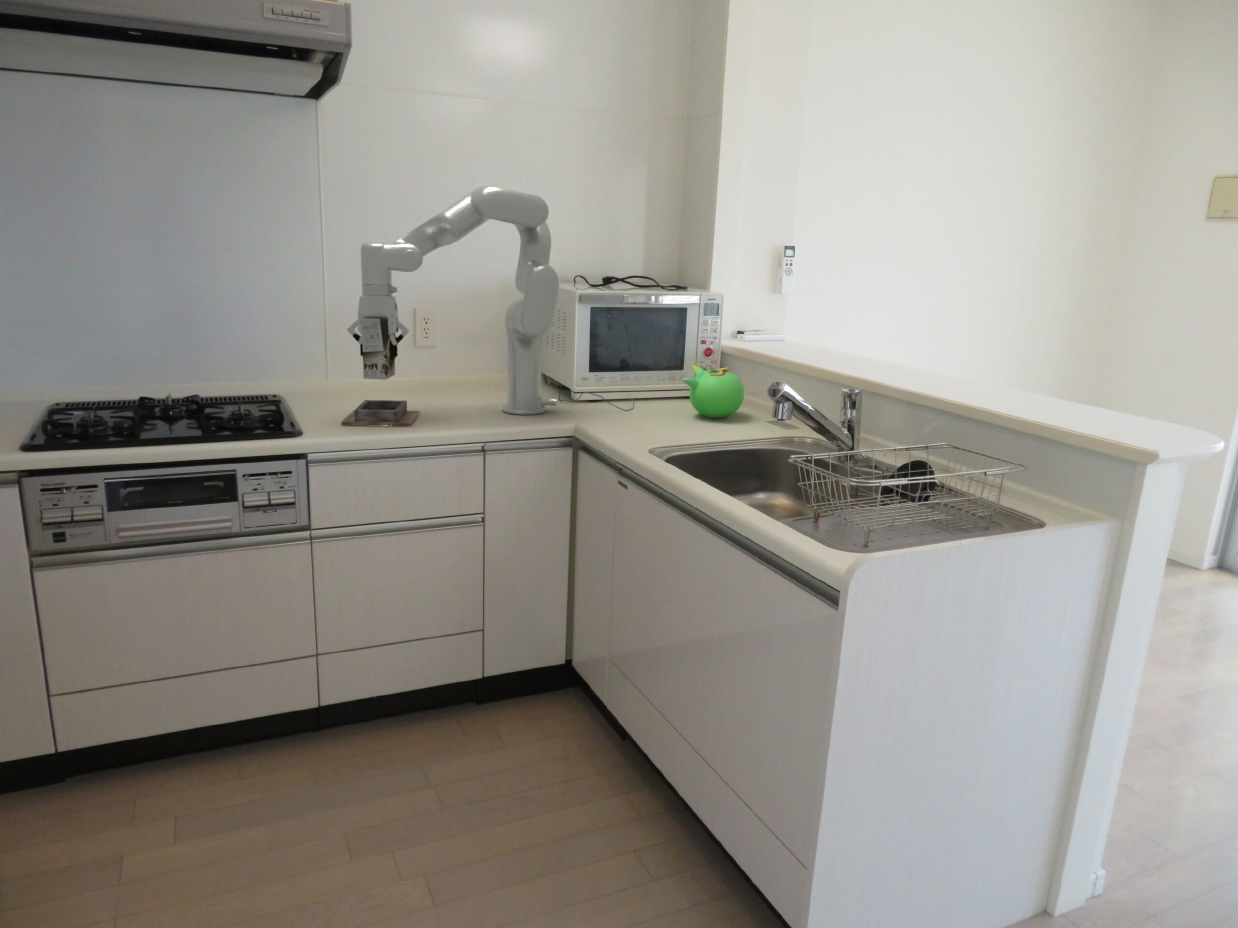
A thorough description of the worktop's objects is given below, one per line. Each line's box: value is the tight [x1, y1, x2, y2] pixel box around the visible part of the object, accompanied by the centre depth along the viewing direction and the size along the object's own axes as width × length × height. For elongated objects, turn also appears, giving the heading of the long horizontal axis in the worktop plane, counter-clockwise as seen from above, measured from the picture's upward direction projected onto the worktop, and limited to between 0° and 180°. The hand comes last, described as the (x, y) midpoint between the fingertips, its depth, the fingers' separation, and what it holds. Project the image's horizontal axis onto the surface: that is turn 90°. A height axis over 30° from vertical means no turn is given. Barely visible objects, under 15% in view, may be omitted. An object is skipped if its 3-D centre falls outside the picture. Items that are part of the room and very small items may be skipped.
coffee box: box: [361, 317, 396, 381], centre depth 239 cm, size 9×6×16 cm
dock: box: [340, 399, 421, 427], centre depth 243 cm, size 18×16×4 cm
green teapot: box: [682, 364, 745, 419], centre depth 260 cm, size 18×17×15 cm
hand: (379, 358), depth 240 cm, fingers closed on coffee box, 6 cm apart
